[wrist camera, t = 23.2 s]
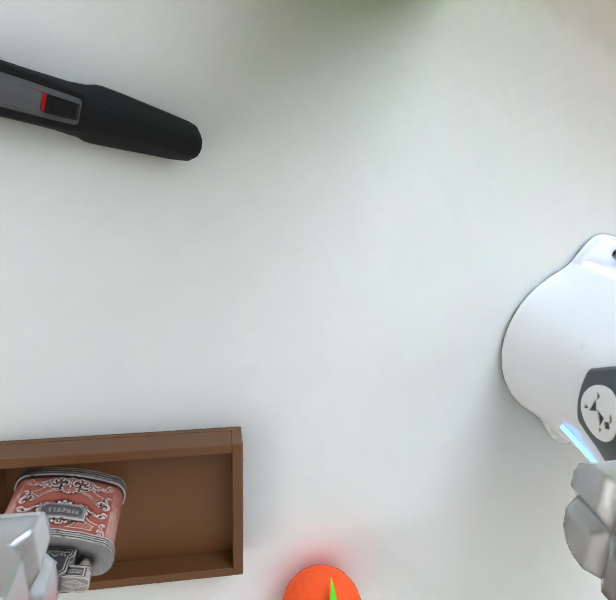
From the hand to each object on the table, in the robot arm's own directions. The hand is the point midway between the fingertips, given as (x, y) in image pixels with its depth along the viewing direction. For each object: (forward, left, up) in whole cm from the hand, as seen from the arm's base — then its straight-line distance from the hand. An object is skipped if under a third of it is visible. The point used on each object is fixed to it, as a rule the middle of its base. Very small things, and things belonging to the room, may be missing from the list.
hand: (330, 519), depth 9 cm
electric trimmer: (+10, -5, -34) cm, 36 cm away
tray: (+9, +25, -34) cm, 43 cm away
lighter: (+12, +23, -34) cm, 42 cm away
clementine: (-7, +35, -34) cm, 49 cm away
